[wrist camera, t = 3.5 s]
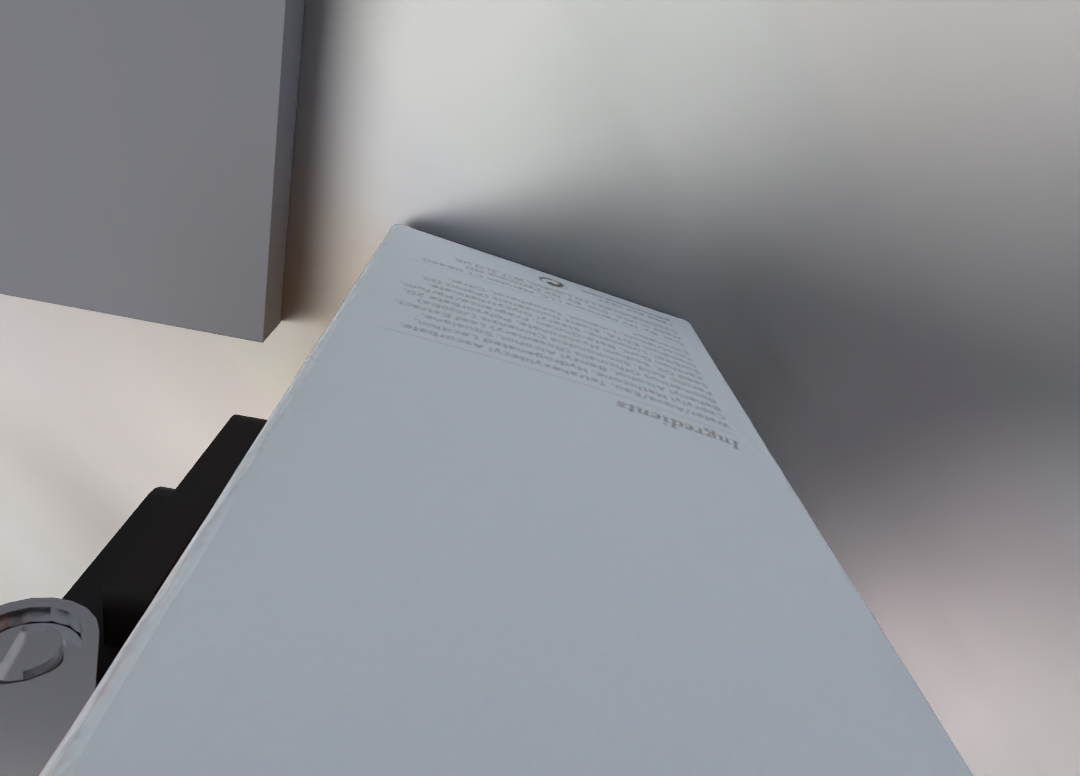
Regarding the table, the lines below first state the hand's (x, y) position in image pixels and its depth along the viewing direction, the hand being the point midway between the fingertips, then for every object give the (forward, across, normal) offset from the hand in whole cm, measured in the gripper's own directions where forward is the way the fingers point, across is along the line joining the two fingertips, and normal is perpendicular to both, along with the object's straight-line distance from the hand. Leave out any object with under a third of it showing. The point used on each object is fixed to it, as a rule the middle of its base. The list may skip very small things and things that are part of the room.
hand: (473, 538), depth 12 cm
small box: (+3, 0, 0) cm, 3 cm away
